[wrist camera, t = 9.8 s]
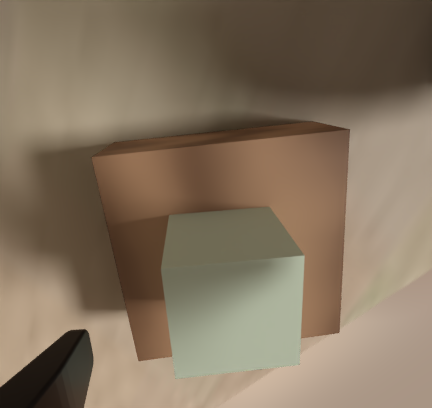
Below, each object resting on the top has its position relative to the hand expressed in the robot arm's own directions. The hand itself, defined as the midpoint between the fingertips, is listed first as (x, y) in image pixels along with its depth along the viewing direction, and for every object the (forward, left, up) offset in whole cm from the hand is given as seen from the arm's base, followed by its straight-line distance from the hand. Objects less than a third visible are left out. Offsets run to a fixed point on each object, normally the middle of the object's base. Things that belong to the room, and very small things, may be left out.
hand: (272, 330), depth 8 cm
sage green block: (0, +2, -8) cm, 9 cm away
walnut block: (0, +3, -13) cm, 14 cm away
